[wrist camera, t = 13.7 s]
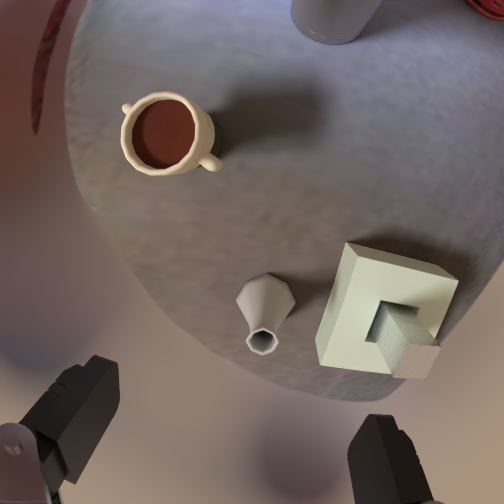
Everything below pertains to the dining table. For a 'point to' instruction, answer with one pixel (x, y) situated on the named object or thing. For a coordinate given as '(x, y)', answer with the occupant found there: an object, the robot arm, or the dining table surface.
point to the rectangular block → (403, 341)
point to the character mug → (169, 135)
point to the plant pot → (489, 8)
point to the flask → (265, 310)
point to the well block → (377, 303)
